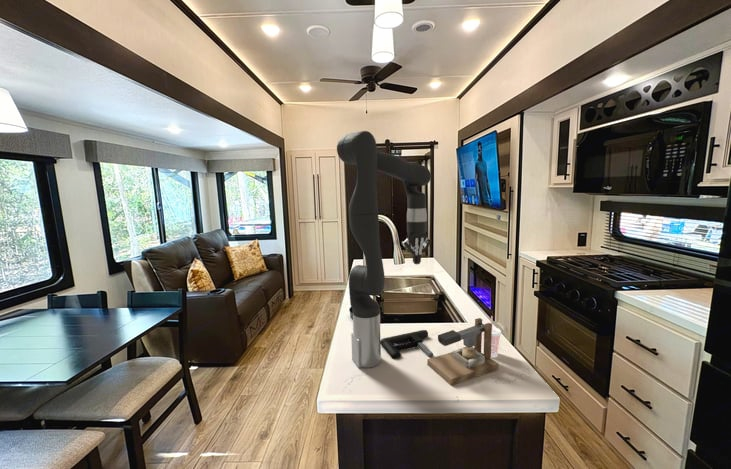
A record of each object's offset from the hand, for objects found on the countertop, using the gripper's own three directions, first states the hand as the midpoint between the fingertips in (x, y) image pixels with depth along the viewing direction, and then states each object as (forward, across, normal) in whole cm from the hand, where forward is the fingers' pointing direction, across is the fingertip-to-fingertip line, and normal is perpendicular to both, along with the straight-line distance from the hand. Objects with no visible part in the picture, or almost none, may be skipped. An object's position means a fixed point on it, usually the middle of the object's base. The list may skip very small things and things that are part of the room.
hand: (416, 263), depth 118 cm
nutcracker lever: (+22, +1, -26) cm, 34 cm away
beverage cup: (+29, +15, -24) cm, 41 cm away
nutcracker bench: (+29, 0, -26) cm, 39 cm away
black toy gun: (+30, -8, -9) cm, 32 cm away
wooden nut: (+27, +3, -26) cm, 38 cm away
